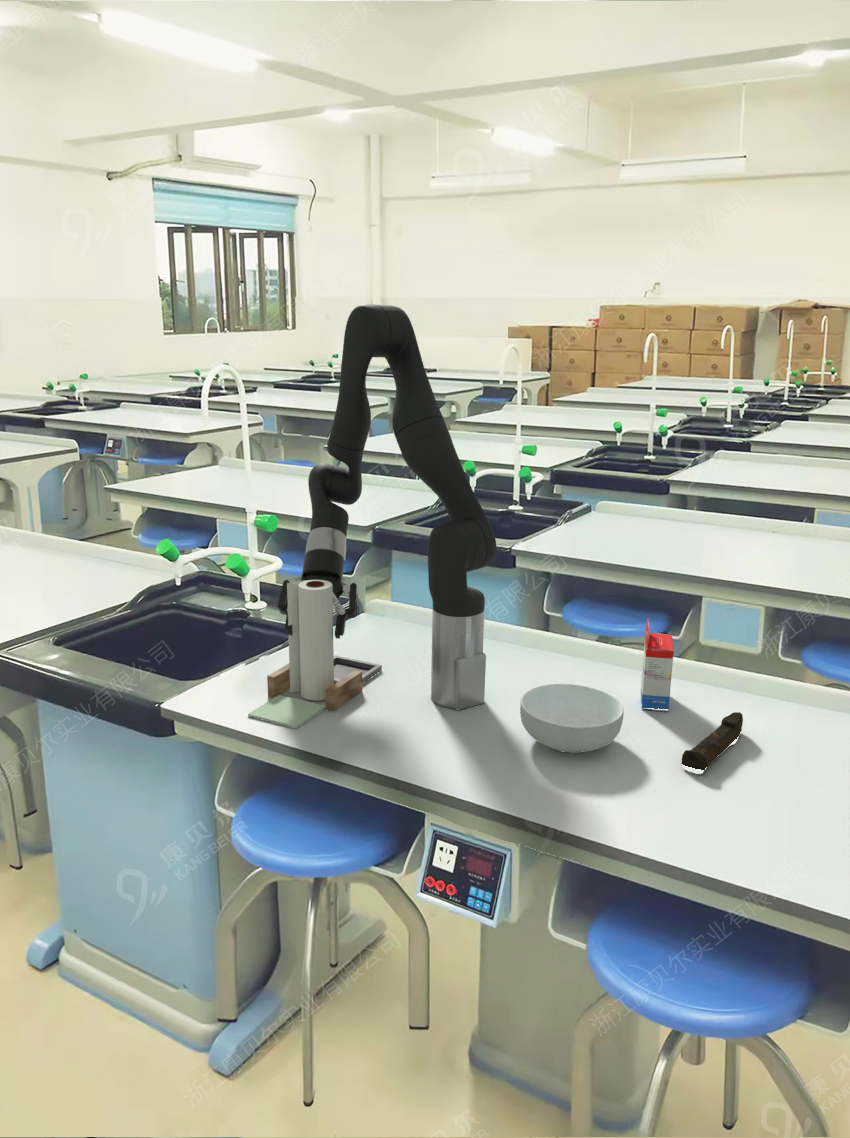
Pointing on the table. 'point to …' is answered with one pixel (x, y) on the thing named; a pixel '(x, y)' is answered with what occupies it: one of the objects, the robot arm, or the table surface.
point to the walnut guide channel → (334, 694)
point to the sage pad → (286, 711)
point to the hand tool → (714, 743)
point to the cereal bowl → (571, 717)
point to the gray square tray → (354, 668)
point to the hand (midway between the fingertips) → (313, 635)
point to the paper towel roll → (311, 637)
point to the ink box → (656, 670)
